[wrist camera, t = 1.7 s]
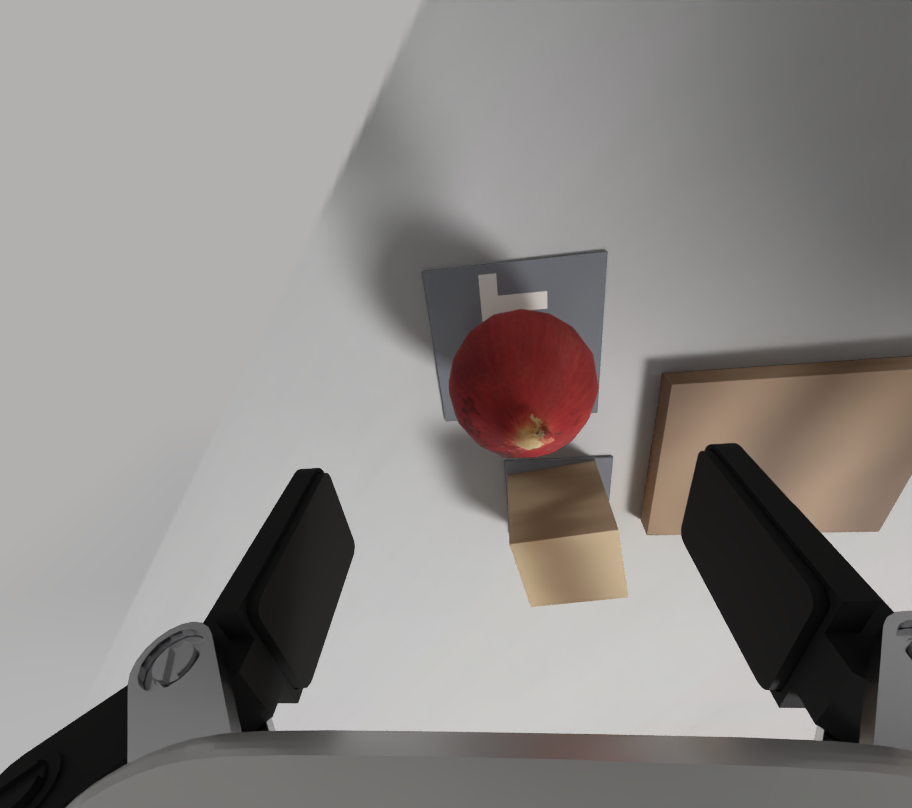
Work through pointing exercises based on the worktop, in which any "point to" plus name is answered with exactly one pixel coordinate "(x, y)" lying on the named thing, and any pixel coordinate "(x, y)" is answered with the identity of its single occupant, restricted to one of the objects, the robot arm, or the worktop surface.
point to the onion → (523, 383)
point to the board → (790, 437)
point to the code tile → (514, 302)
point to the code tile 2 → (537, 464)
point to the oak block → (565, 535)
